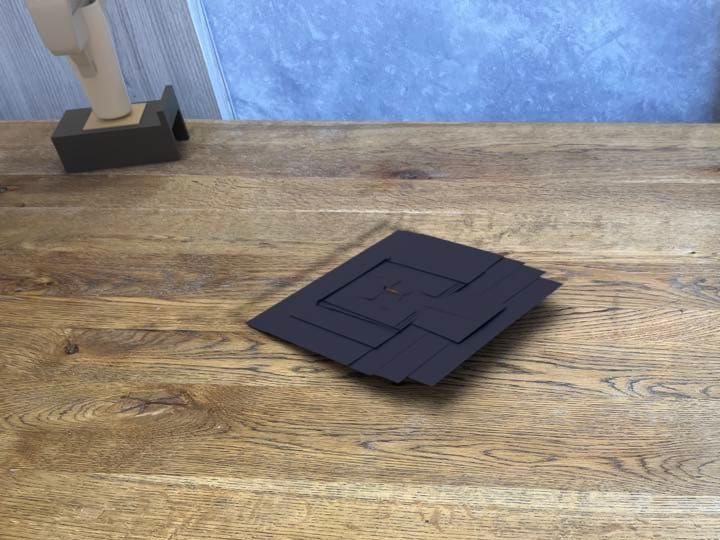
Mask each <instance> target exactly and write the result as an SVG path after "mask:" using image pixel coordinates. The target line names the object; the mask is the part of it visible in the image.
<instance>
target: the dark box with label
mask: <svg viewBox="0 0 720 540" xmlns="http://www.w3.org/2000/svg"><path fill="white" fill-rule="evenodd" d="M131 103H132V110H131V111H130V112H129V113H128V114H126V115H124V116H122V117H118V118H113V119H102V118H98V117H97V116H95V114H94V113H93V111H92V108H91V106H90V107H81V108H72V109H65V111H64V113H63V114H62V116H61V118H60V120H59V121H58V123H57V125H56V127H55V129H54V130H53V133H52V134H51V136H50V140H51V142H52V144H53V147H54V148H55V150H56V153H57V155H58V157H59V160H60V161H61V164H62V166H63V167H64V168H63V169H64V170H65V172H66V174H73V173H82V172H90V171H99V170H100V171H101V170H106V169H107V170H109V169H116V168H124V167H125V168H126V167H134V166H141V165H150V164H158V163H166V162H167V163H168V162H174V161H175V162H176V161H181V160H182V155H181V152H180V149H179V146H178V144H177V142H179V141H187V140H190V138H191V137H190V133H189V130H188V127H187V125H186V121H185V117H184V115H183V112H182V109H181V107H180V104H179V101H178V97H177V95H176V92H175V89H174V86H173V84H167V85H164V89H163V91H162V94H161V96H160V99H155V100H147V101H146V100H145V101H144V100H143V101H136V102H131Z"/></svg>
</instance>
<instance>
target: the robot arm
mask: <svg viewBox="0 0 720 540" xmlns="http://www.w3.org/2000/svg"><path fill="white" fill-rule="evenodd" d="M98 1H99V3H100V6H101V8H102V10H103V13H104V14H105V13H106V12H107V10H108V8H107V1H106V0H98ZM24 3H25V7H26V8H27V11H28V13H29V15H30V18H31V19H32V23H34V26H35V28H36V30H37V32H38V34H39V36H40V38H41V40H42V42H43V44H44V45H45V47H46V48H47V50H48V51H49V52H50V53H51V54H52V55H53V56H54V57H62V56H63V57H64V56H65V55H69V56H70V57H71V59H72V60H73V61H74V63H75V64H76V65H77V66H78V69H79V71H80V74H81V76H82V77H83V78H93V77H95V75H96V73H97V69H96V68H95V64H94V62H93V61H91V59H90V57H89V55H88V53H87V48H86V45H85V44H86V43H87V41H88V39H89V38H90V31H89V28H88V26H87V23H86V21H85V18H84V16H83V13H82V10H81V7H84V6H87V5H90V4H91V1H90V0H24Z"/></svg>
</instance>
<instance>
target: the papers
mask: <svg viewBox="0 0 720 540" xmlns="http://www.w3.org/2000/svg"><path fill="white" fill-rule="evenodd" d="M546 273H547V271H546V270H542V269H539V268H535V267H533V266H529V265H526V262H523V261H521V260H516V259H513V258H510V257H506V256H505V255H504V254H499V253H496V252H492V251H488V250H486V249H481V248H477V247H474V246H470V245H466V244H462V243H459V242H455V241H451V240H448V239H444V238H440V237H436V236H432V235H429V234H425V233H419V232H414V231H410V230H406V229H403V230H401V229H397V230H396V231H394V232H392V233H390V234H388V235H386V236H385V237H384V238H382V239H381V240H378V241H377V242H376V243H374V244H372V245H370V246H369V247H367V248H365V249H364V250H362V251H360V252H359V253H357V254H356V255H354V256H353V257H351V258H349V259H347V260H346V261H344V262H342V263H341V264H339V265H337V266H336V267H335V268H333V269H331V270H330V271H328V272H326V273H324V274H323V275H321V276H320V277H318V278H316V279H314V280H313V281H311V282H310V283H308V284H306V285H305V286H303V287H302V288H300V289H298V290H297V291H295V292H294V293H292V294H290V295H288V296H286V297H285V298H283V299H282V300H280V301H278V302H277V303H275V304H274V305H272V306H271V307H268V308H267V309H265V310H264V311H262V312H260V313H259V314H257V315H255V316H254V317H252V318H251V319H249V320H247V321H246V322H244V324H246V325H247V326H249V327H252V328H254V329H257V330H259V331H262V332H263V333H266V334H267V333H268V334H271V335H273V336H275V337H278V338H280V339H281V340H284V341H287V342H289V343H292V344H294V345H296V346H299V347H301V348H304V349H306V350H309V351H311V352H313V353H316V354H318V355H321V356H322V357H324V358H327V359H330V360H332V361H334V362H337V363H339V364H341V365H343V366H345V367H347V368H350V369H353V370H354V371H358V372H360V373H362V374H366V375H368V376H372V375H373V374H374V375H376V376H378V377H381V378H383V379H386V380H388V381H389V380H390V381H392V382H394V383H397V384H399V383H400V382H402V381H403V380H404V379H406V378H408V379H411V380H414V381H417V382H420V383H422V384H425V385H427V386H430V387H434V386H435V385H436V384H437V383H439V382H440V381H441V380H443V379H444V378H445V377H447V375H449V374H450V373H452V372H453V371H454V370H455V369H456V368H458V367H459V366H460V365H461V364H462V363H464V362H465V361H466V360H468V359H469V358H470V357H471V356H473V355H474V354H476V353H477V351H479V350H480V349H482V347H484V346H485V345H486V344H488V343H489V342H490V341H491V340H492V339H494V338H495V337H496V336H497V335H499V334H500V333H501V332H503V331H504V330H505V329H507V328H508V327H509V326H510V325H512V324H513V323H515V322H516V321H517V320H518V319H520V318H521V317H522V316H524V315H525V314H527V313H528V312H529V311H530V310H532V309H533V308H534V307H536V306H537V305H538V304H539V303H541V302H542V301H544V300H546V299H547V297H549V296H550V295H552V294H553V293H554V292H555V291H557V290H558V289H559V288H561V287H562V286H564V283H563V282H559V281H556V280H552V279H549V278H545V277H542V276H543V275H545V274H546Z"/></svg>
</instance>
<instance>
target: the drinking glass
mask: <svg viewBox="0 0 720 540" xmlns="http://www.w3.org/2000/svg"><path fill="white" fill-rule="evenodd" d="M90 1H91V4H90V5H87V6H84V7H81V10H82V13H83V16H84V18H85V21H86V23H87V26H88V28H89V31H90V38H89V39H88V41H87V43H86V44H85V45H86V48H87V53H88V55H89V57H90V59H91V61H93V62H94V64H95V68H96V69H97V73H96V75H95V77H93V78H83V77H82V76H81V74H80V71H79V69H78V66H77V65H76V64H75V63H74V61H73V60H72V59H71V57H70V56H69V55H64V56H65V58H66V60H67V62H68V64H69V65H70V67H71V69H72V72H73V73H74V76H75V77H76V80H77V81H78V83H79V85H80V87H81V89H82V91H83V93H84V95H85V97H86V100H87V101H88V104H89V106H90V107H91V108H92V111H93V113H94V114H95V116H97V117H98V118H102V119H113V118H118V117H122V116H124V115H126V114H128V113H129V112H130V111H131V110H132V103H133V102H132V101H131V98H130V95H129V92H128V89H127V86H126V82H125V78H124V75H123V72H122V67H121V65H120V60H119V57H118V54H117V50H116V48H115V42H114V39H113V36H112V33H111V30H110V29H111V28H110V26H109V24H108V21H107V18H106V15H105V13H103V10H102V8H101V6H100V3H99V1H98V0H90Z"/></svg>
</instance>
